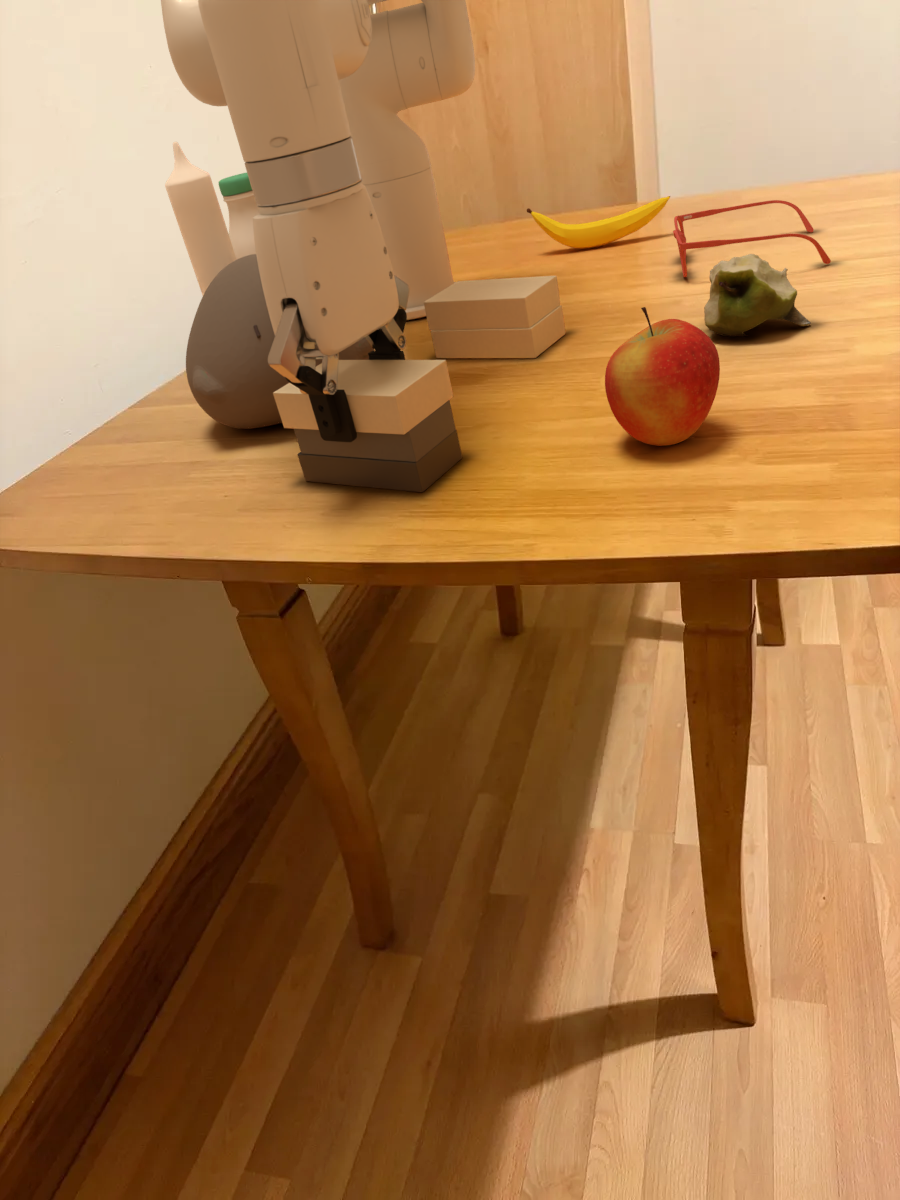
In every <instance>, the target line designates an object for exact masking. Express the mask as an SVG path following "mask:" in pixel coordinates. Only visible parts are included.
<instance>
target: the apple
mask: <svg viewBox="0 0 900 1200" xmlns="http://www.w3.org/2000/svg"><path fill="white" fill-rule="evenodd" d="M640 308H641V311H642V312H643V314H644V316H645V318H646V321H647V323H648V326H647V327H645V328H643V329H642V330H641V331H639V332H637V333H636V334H634V335H633V336H631V337H630V338H628V339H627V340H626V341H624V342H623V343H622V344H621V345H619V346H618V348H617V349H615V350H614V352H613V353H612V355H611V356H610V357H609V360H608V361H607V365H606V368H605V374H604V388H605V389H604V390H605V394H606V398H607V403H608V405H609V408H610V411H611V413H612V415H613V416H614V418H615V420H616V421H617V423H618V424H619V425H620V426H621V428H622V429H623V431H625V432H626V433H627V434H628V435H630V436H631V438H634V439H635V440H637V441H639V442H641V443H643V444H646V445H650V446H658V447H659V446H660V447H662V446H663V447H664V446H671V445H675V444H678V443H681V442H683V441H685V440H687V439H689V438H690V437H691V436H693V435H694V434H695V433H696V432H697V431H698V430H699V429H700V428H701V426H702V425H703V423H704V422H705V421H706V419H707V418H708V415H709V413H710V411H711V409H712V406H713V405H714V401H715V399H716V395H717V392H718V389H719V382H720V374H721V364H720V356H719V352H718V349H717V347H716V345H715V343H714V342H713V340H712V339H711V338H710V336H709V335H708V334H707V333H705V332H704V331H703V330H702V329H701V328H700V327H697V326H696V325H694V324H692V323H690V322H688V321H686V320H682V319H678V318H668V319H662V320H659V321H656V322H654V323H652V324H651V321H650V317H649V314H648V311H647V310H648V309H647V308H646V306H643V307H640Z"/></svg>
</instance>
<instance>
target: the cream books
mask: <svg viewBox="0 0 900 1200" xmlns="http://www.w3.org/2000/svg"><path fill="white" fill-rule="evenodd" d="M455 282H456V283H454V284H453V285H451V286H449V287H448V288H446V289H444V290H443V291H441V292H439V293H438V294H436V295H434V296H433V297H431V298H430V299H428V300H426V301H425V302H424V307H425V312H426V316H425V317H426V321H427V326H428V330H429V331H430V335H431V339H432V344H433V349H434V353H435V358H436V359H536V358H537V357H539V356H540V355H541V354H543V353H544V352H545V351H547V350H548V348H550V347H552V345H554V344H555V343H556V342H558V341H559V340H560V339H561V338H562V337H564V336H565V335H566V326H565V318H564V309H563V305H561V299H560V298H561V297H560V290H559V283H558V276H557V275H543V276H542V275H541V276H523V277H521V276H520V277H507V278H505V277H504V278H489V279H488V278H487V279H471V280H470V279H469V280H458V281H455Z"/></svg>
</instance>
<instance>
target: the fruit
mask: <svg viewBox="0 0 900 1200" xmlns="http://www.w3.org/2000/svg"><path fill="white" fill-rule="evenodd" d="M787 271H788V268H786V267H785V268H783V270H777V269H775V268H773V267H772V266H771V265H770V264H769V262H768V261H767V260H766V259H762V258H761V257H760V256H759V255H757V254H754V253H749V254H746V255H741V256H734V257H731V258H730V259H729V260H720V261H719V262H718V263H716V264H715V265H714V266H713V267H712V268H711V269H710V270H709V276H708V278H709V281H710V287H709V299H708V300H707V302H706V303H705V305H704V307H703V310H704V311H703V312H704V314H703V315H704V316H703V317H704V320H703V321H704V325H705V327H706V328H707V329H709V330H710V331H711V332H713V333H715V334H717V335H719V336H724V337H733V338H734V337H749V335H748V334H746V333H745V332H748V331H749V330H751V329H754V328H756V327H757V326H759V325H760V324H762V323H764V322H765V321H767V320H785V321H788V322H790V323H792V324H795V325H797V326H799V327H806V326H810V325H811V324H812V323H811V321H810V320H809V319H808V318H806V317H805V316H804V315H803V314H802V313H801V312H800V311H799V310H798V308H797V307H796V306H795V304H796V303H795V302H796V299H797V295H798V290H797V289H796V288H795V287H793V285H792V284H791V282H790V280H789V278H788V276H787Z"/></svg>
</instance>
